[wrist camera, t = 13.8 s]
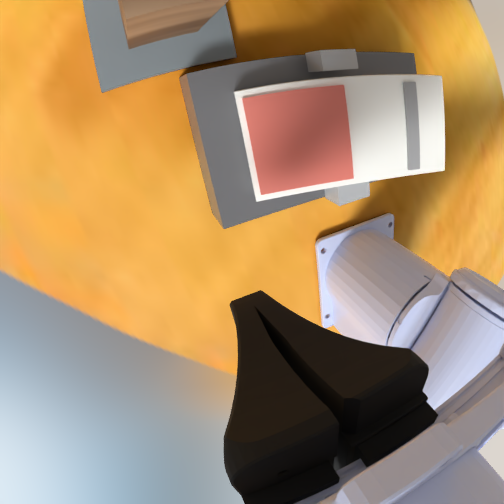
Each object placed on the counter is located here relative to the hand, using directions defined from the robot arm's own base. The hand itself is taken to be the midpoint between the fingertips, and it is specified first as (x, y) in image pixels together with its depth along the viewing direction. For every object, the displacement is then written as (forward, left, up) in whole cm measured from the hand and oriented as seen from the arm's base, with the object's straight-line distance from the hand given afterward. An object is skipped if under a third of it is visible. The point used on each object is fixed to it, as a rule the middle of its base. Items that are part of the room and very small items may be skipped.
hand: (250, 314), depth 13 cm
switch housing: (+5, -9, -10) cm, 14 cm away
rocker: (+5, -9, -6) cm, 12 cm away
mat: (+14, -1, -10) cm, 17 cm away
